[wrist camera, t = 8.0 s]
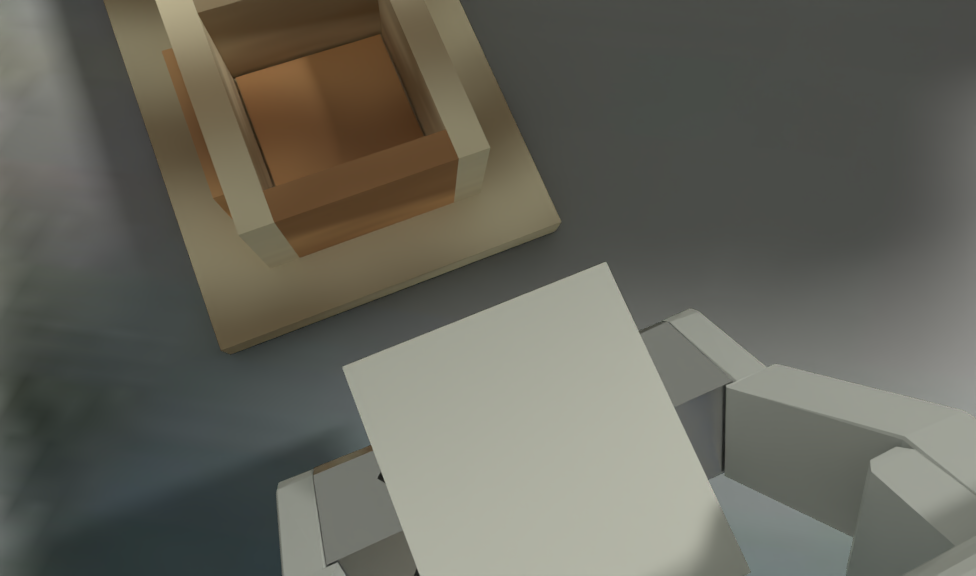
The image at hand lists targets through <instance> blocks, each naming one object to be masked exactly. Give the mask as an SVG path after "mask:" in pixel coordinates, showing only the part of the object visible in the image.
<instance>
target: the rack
mask: <svg viewBox="0 0 976 576" xmlns="http://www.w3.org/2000/svg"><path fill="white" fill-rule="evenodd" d="M103 1H104V4H105V7H106V10H107V13H108V16H109V19H110V22H111V25H112V28H113V31H114V34H115V36H116V39H117V42H118V45H119V48H120V51H121V54H122V57H123V60H124V63H125V66H126V69H127V72H128V75H129V78H130V81H131V84H132V87H133V90H134V93H135V96H136V99H137V102H138V105H139V108H140V111H141V114H142V117H143V120H144V123H145V126H146V129H147V132H148V135H149V138H150V141H151V144H152V147H153V150H154V153H155V156H156V159H157V162H158V165H159V168H160V171H161V174H162V177H163V180H164V183H165V186H166V189H167V191H168V194H169V197H170V200H171V203H172V206H173V209H174V212H175V215H176V218H177V221H178V224H179V227H180V230H181V233H182V236H183V239H184V242H185V245H186V248H187V251H188V254H189V257H190V260H191V263H192V266H193V269H194V272H195V275H196V278H197V281H198V284H199V287H200V290H201V293H202V296H203V299H204V302H205V305H206V308H207V311H208V314H209V317H210V320H211V323H212V326H213V329H214V332H215V335H216V338H217V341H218V344H219V346H220V349H221V351H223V352H226V353H228V354H233V353H236V352H239V351H241V350H244V349H247V348H249V347H252V346H254V345H257V344H260V343H262V342H265V341H268V340H270V339H273V338H275V337H278V336H281V335H283V334H286V333H289V332H291V331H294V330H297V329H299V328H302V327H304V326H307V325H310V324H312V323H315V322H318V321H320V320H323V319H325V318H328V317H331V316H333V315H336V314H339V313H341V312H344V311H347V310H349V309H352V308H354V307H357V306H360V305H362V304H365V303H368V302H370V301H373V300H375V299H378V298H381V297H383V296H386V295H389V294H391V293H394V292H397V291H399V290H402V289H404V288H407V287H410V286H412V285H415V284H418V283H420V282H423V281H425V280H428V279H431V278H433V277H436V276H439V275H441V274H444V273H446V272H449V271H452V270H454V269H457V268H460V267H462V266H465V265H468V264H470V263H473V262H475V261H478V260H481V259H483V258H486V257H489V256H491V255H494V254H496V253H499V252H502V251H504V250H507V249H510V248H512V247H515V246H518V245H520V244H523V243H525V242H528V241H531V240H533V239H536V238H539V237H541V236H544V235H546V234H549V233H552V232H554V231H556V230H557V228H558V226H559V225H560V223H561V220H560V218H559V216H558V213H557V211H556V209H555V207H554V205H553V203H552V200H551V198H550V196H549V194H548V192H547V190H546V187H545V185H544V183H543V181H542V179H541V176H540V174H539V172H538V170H537V168H536V166H535V163H534V161H533V159H532V157H531V155H530V153H529V150H528V148H527V146H526V144H525V142H524V140H523V137H522V135H521V133H520V131H519V129H518V127H517V124H516V122H515V120H514V118H513V116H512V113H511V111H510V109H509V107H508V105H507V103H506V100H505V98H504V96H503V94H502V92H501V90H500V87H499V85H498V83H497V81H496V79H495V77H494V74H493V72H492V70H491V68H490V66H489V64H488V61H487V59H486V57H485V55H484V53H483V51H482V48H481V46H480V44H479V42H478V40H477V37H476V35H475V33H474V31H473V29H472V27H471V24H470V22H469V20H468V18H467V16H466V14H465V11H464V9H463V7H462V5H461V3H460V1H459V0H103Z"/></svg>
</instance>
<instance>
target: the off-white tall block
mask: <svg viewBox="0 0 976 576" xmlns="http://www.w3.org/2000/svg"><path fill="white" fill-rule="evenodd" d="M342 368H343V371H344V374H345V376H346V379H347V382H348V384H349V387H350V390H351V392H352V395H353V398H354V400H355V403H356V406H357V408H358V411H359V414H360V416H361V419H362V422H363V425H364V427H365V430H366V433H367V435H368V438H369V441H370V443H371V446H372V449H373V451H374V454H375V457H376V459H377V462H378V465H379V467H380V470H381V473H382V475H383V478H384V481H385V483H386V486H387V489H388V492H389V494H390V497H391V500H392V502H393V505H394V508H395V510H396V513H397V516H398V518H399V521H400V524H401V526H402V529H403V532H404V534H405V537H406V540H407V542H408V545H409V548H410V550H411V553H412V556H413V558H414V561H415V564H416V567H417V569H418V572H419V575H420V576H744V575H746V574H748V573H750V572H751V571H750V569H749V566H748V564H747V562H746V560H745V558H744V556H743V554H742V552H741V549H740V547H739V545H738V543H737V541H736V539H735V537H734V534H733V532H732V530H731V528H730V526H729V524H728V522H727V519H726V517H725V515H724V513H723V511H722V509H721V507H720V504H719V502H718V500H717V498H716V496H715V494H714V492H713V489H712V487H711V485H710V483H709V481H708V479H707V477H706V474H705V472H704V470H703V468H702V466H701V464H700V462H699V459H698V457H697V455H696V453H695V451H694V449H693V447H692V444H691V442H690V440H689V438H688V436H687V434H686V432H685V429H684V427H683V425H682V423H681V421H680V419H679V417H678V415H677V412H676V410H675V408H674V406H673V404H672V402H671V400H670V397H669V395H668V393H667V391H666V389H665V387H664V385H663V382H662V380H661V378H660V376H659V374H658V372H657V370H656V367H655V365H654V363H653V361H652V359H651V357H650V355H649V352H648V350H647V348H646V346H645V344H644V342H643V340H642V337H641V335H640V333H639V331H638V329H637V327H636V325H635V322H634V320H633V318H632V316H631V314H630V312H629V310H628V307H627V305H626V303H625V301H624V299H623V297H622V295H621V292H620V290H619V288H618V286H617V284H616V282H615V280H614V278H613V275H612V273H611V271H610V269H609V267H608V265H607V263H606V262H604V263H601V264H599V265H596V266H594V267H591V268H589V269H586V270H584V271H581V272H579V273H576V274H574V275H571V276H569V277H566V278H564V279H561V280H559V281H556V282H554V283H551V284H549V285H546V286H544V287H541V288H539V289H536V290H534V291H531V292H529V293H526V294H524V295H521V296H518V297H516V298H513V299H511V300H508V301H506V302H503V303H501V304H498V305H496V306H493V307H491V308H488V309H486V310H483V311H481V312H478V313H476V314H473V315H471V316H468V317H466V318H463V319H461V320H458V321H456V322H453V323H451V324H448V325H446V326H443V327H441V328H438V329H436V330H433V331H431V332H428V333H426V334H423V335H421V336H418V337H416V338H413V339H411V340H408V341H406V342H403V343H401V344H398V345H395V346H393V347H390V348H388V349H385V350H383V351H380V352H378V353H375V354H373V355H370V356H368V357H365V358H363V359H360V360H358V361H355V362H353V363H350V364H348V365H345V366H343V367H342Z"/></svg>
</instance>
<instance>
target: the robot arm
mask: <svg viewBox="0 0 976 576" xmlns="http://www.w3.org/2000/svg"><path fill="white" fill-rule="evenodd" d="M639 333H640V335H641V337H642V340H643V342H644V344H645V346H646V348H647V350H648V352H649V355H650V357H651V359H652V361H653V363H654V365H655V367H656V370H657V372H658V374H659V376H660V378H661V380H662V382H663V385H664V387H665V389H666V391H667V393H668V395H669V397H670V400H671V402H672V404H673V406H674V408H675V410H676V412H677V415H678V417H679V419H680V421H681V423H682V425H683V427H684V429H685V432H686V434H687V436H688V438H689V440H690V442H691V444H692V447H693V449H694V451H695V453H696V455H697V457H698V459H699V462H700V464H701V466H702V468H703V470H704V472H705V474H706V477H707V479H708V480H709V479H711V478H714V477H716V476H718V475H720V474H723V473H725V476H726V477H728V478H730V479H733V480H735V481H737V482H739V483H741V484H743V485H745V486H747V487H749V488H751V489H753V490H756V491H758V492H760V493H762V494H764V495H766V496H768V497H770V498H772V499H774V500H776V501H778V502H781V503H783V504H785V505H787V506H789V507H791V508H793V509H795V510H797V511H799V512H801V513H804V514H806V515H808V516H810V517H812V518H814V519H816V520H818V521H820V522H822V523H824V524H827V525H829V526H831V527H833V528H835V529H837V530H839V531H841V532H843V533H845V534H847V535H849V536H852V537H853V541H852V546H851V550H850V555H849V559H848V564H847V571H846V576H976V418H975V417H973V416H972V415H970V414H969V413H967V412H966V411H964V410H960V409H956V408H952V407H948V406H944V405H940V404H936V403H932V402H928V401H924V400H920V399H916V398H912V397H908V396H904V395H900V394H896V393H892V392H888V391H884V390H880V389H876V388H872V387H868V386H864V385H860V384H856V383H852V382H848V381H844V380H840V379H836V378H832V377H828V376H824V375H820V374H816V373H812V372H807V371H803V370H799V369H795V368H791V367H787V366H783V365H779V364H773V365H771V366H769V367H766V366H765V365H764V364H762V363H761V362H760V361H759V360H757V359H756V358H755V357H754V356H753V355H751V354H750V353H749V352H748V351H746V350H745V349H744V348H743V347H742V346H740V345H739V344H738V343H737V342H736V341H734V340H733V339H732V338H731V337H729V336H728V335H727V334H726V333H725V332H723V331H722V330H721V329H720V328H718V327H717V326H716V325H715V324H714V323H712V322H711V321H710V320H709V319H707V318H706V317H705V316H704V315H703V314H701V313H700V312H699V311H698V310H695V309H691V308H690V309H687V310H685V311H683V312H681V313H678V314H676V315H674V316H671V317H669V318H667V319H665V320H662V321H661V322H658V323H656V324H653V325H651V326H649V327H647V328H644V329H642V330H640V331H639ZM276 500H277V514H278V527H279V540H280V554H281V567H282V576H420V575H419V572H418V569H417V567H416V564H415V561H414V558H413V556H412V553H411V550H410V548H409V545H408V542H407V540H406V537H405V534H404V532H403V529H402V526H401V524H400V521H399V518H398V516H397V513H396V510H395V508H394V505H393V502H392V500H391V497H390V494H389V492H388V489H387V486H386V483H385V481H384V478H383V475H382V473H381V470H380V467H379V465H378V462H377V459H376V457H375V454H374V451H373V449H372V446H371V445H370V446H368V447H365V448H363V449H360V450H358V451H355V452H353V453H350V454H347V455H345V456H342V457H340V458H337V459H335V460H332V461H330V462H327V463H325V464H322V465H320V466H317V467H315V468H314V469H312V470H309V471H307V472H304V473H302V474H299V475H297V476H294V477H292V478H289V479H286V480H284V481H281V482H279V484H278V487H277V491H276Z"/></svg>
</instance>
